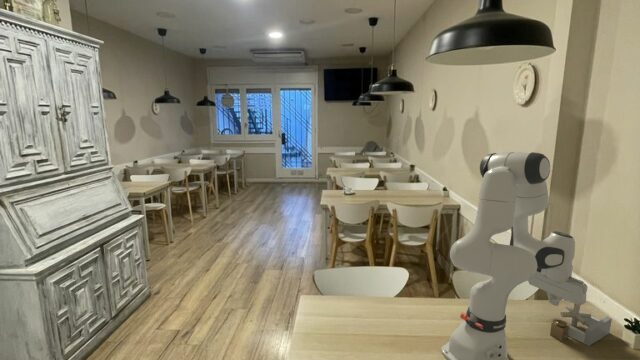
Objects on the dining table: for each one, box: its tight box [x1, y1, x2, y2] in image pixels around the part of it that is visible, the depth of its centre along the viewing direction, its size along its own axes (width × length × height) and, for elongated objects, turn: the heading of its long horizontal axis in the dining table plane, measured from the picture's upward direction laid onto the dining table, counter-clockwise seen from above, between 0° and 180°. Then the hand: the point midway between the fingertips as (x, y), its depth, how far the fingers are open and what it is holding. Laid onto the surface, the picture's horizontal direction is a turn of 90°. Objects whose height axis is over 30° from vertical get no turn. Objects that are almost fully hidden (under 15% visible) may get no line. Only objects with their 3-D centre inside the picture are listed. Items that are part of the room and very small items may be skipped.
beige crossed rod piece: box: [559, 303, 592, 329], centre depth 131 cm, size 10×10×10 cm
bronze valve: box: [549, 319, 570, 342], centre depth 126 cm, size 4×4×6 cm
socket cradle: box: [556, 310, 613, 347], centre depth 129 cm, size 15×12×6 cm
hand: (553, 304), depth 138 cm, fingers closed
